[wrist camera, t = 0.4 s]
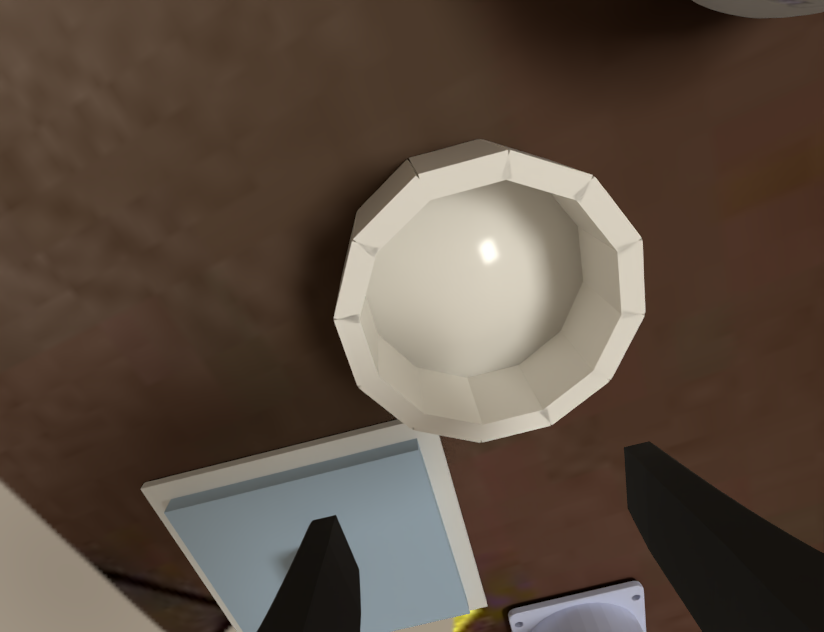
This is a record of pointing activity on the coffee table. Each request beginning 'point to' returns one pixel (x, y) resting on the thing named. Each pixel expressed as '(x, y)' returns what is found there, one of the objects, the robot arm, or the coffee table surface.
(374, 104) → the coffee table surface
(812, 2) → the teacup
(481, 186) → the bowl
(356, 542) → the cover
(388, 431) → the mat
